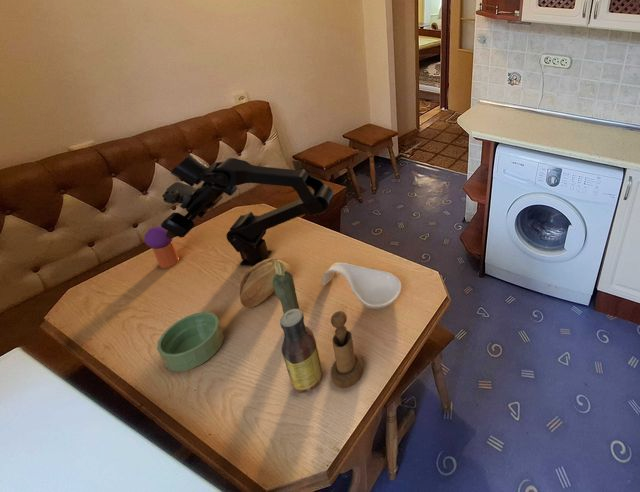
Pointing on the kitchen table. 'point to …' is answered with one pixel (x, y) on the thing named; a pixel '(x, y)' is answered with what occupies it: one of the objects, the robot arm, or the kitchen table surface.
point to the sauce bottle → (300, 352)
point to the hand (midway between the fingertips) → (178, 227)
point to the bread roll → (259, 282)
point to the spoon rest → (367, 284)
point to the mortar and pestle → (344, 354)
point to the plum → (157, 237)
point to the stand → (166, 255)
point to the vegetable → (284, 287)
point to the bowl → (190, 341)
